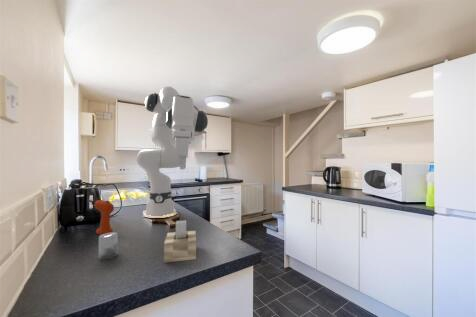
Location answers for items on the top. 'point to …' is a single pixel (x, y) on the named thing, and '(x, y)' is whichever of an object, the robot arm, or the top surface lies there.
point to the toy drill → (104, 215)
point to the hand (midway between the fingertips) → (182, 168)
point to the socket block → (180, 247)
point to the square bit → (181, 229)
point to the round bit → (108, 246)
